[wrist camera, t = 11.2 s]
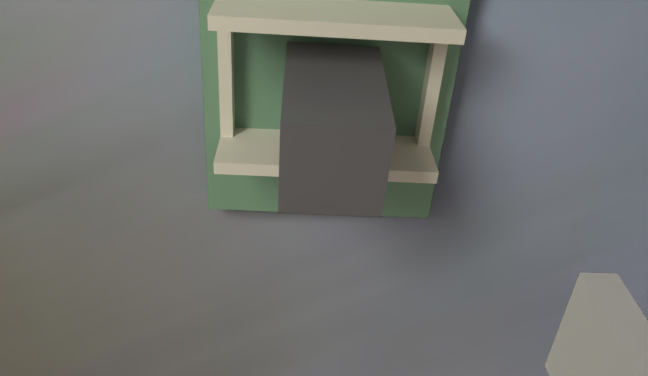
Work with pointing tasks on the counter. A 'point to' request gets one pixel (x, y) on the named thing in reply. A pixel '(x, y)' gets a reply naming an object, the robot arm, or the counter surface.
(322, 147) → the plug
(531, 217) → the counter surface
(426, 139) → the board
